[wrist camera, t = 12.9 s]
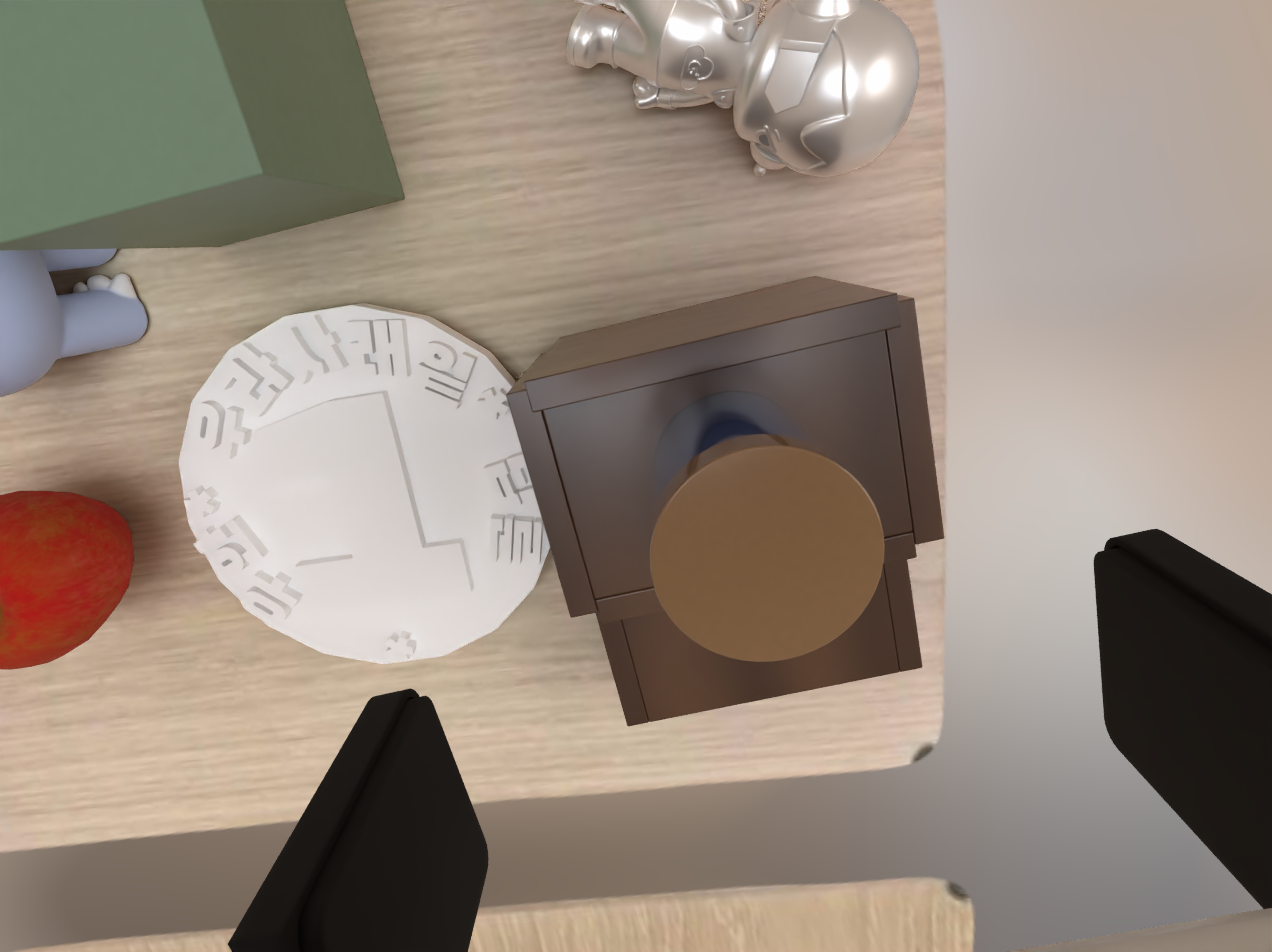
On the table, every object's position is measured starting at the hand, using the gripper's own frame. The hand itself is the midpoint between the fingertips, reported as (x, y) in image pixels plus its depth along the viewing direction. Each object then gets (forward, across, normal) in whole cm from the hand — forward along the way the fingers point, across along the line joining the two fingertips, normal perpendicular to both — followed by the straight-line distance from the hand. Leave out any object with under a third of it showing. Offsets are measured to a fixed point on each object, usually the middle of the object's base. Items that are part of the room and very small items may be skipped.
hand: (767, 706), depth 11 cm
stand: (+31, +16, -16) cm, 39 cm away
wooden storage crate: (+31, -1, +8) cm, 32 cm away
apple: (+31, +34, +2) cm, 46 cm away
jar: (+20, -1, +3) cm, 20 cm away
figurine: (+32, -6, -13) cm, 34 cm away
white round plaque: (+31, +18, +3) cm, 36 cm away
